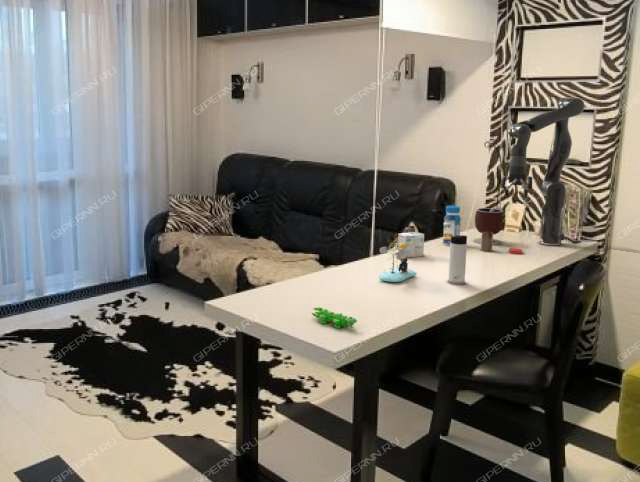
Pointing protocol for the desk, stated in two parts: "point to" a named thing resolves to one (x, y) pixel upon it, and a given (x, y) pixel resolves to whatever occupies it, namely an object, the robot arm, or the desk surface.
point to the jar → (487, 241)
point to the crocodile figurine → (334, 318)
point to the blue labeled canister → (451, 223)
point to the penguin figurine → (400, 272)
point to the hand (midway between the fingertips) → (515, 197)
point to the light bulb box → (412, 243)
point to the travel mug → (457, 259)
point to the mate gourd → (489, 221)
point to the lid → (515, 251)
